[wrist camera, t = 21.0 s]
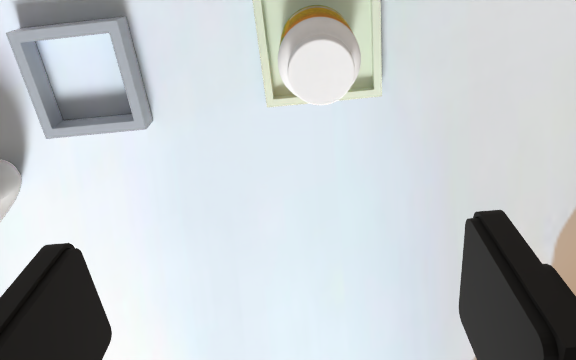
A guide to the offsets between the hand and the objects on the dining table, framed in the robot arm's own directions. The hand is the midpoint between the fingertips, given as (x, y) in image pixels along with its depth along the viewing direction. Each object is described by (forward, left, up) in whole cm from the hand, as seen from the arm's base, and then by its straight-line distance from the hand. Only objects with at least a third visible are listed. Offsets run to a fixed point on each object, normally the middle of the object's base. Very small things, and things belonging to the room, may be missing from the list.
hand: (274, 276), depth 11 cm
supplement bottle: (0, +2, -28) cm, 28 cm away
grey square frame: (+1, -17, -28) cm, 33 cm away
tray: (0, +2, -28) cm, 28 cm away
